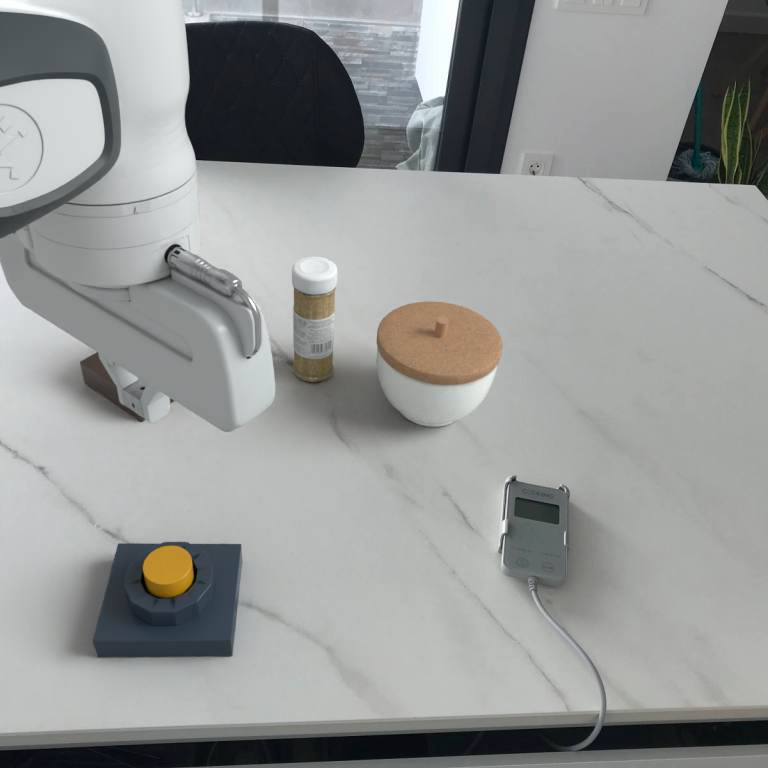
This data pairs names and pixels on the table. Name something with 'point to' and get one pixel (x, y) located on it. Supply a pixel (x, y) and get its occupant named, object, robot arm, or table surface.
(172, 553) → the trigger button
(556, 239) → the table surface
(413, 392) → the decorative box
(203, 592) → the button housing
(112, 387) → the dial panel
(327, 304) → the sprinkles bottle
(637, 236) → the table surface
